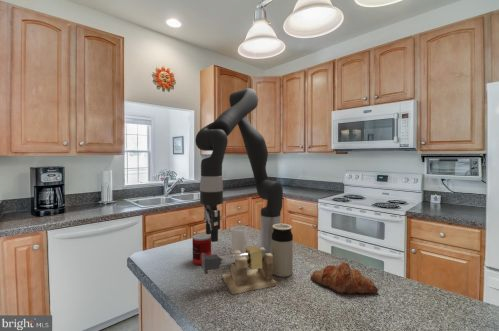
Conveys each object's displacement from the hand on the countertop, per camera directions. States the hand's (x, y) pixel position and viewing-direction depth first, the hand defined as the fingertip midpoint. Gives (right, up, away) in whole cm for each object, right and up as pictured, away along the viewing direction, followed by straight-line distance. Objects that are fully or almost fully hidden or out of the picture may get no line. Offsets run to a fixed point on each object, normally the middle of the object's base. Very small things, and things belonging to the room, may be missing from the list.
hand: (211, 237), depth 85 cm
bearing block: (+12, -17, +5) cm, 22 cm away
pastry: (+45, -18, +2) cm, 48 cm away
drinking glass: (+9, -17, +20) cm, 27 cm away
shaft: (+8, -11, +3) cm, 14 cm away
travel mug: (+25, -17, +12) cm, 33 cm away
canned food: (-7, -17, +22) cm, 29 cm away
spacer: (+14, -9, +5) cm, 18 cm away
